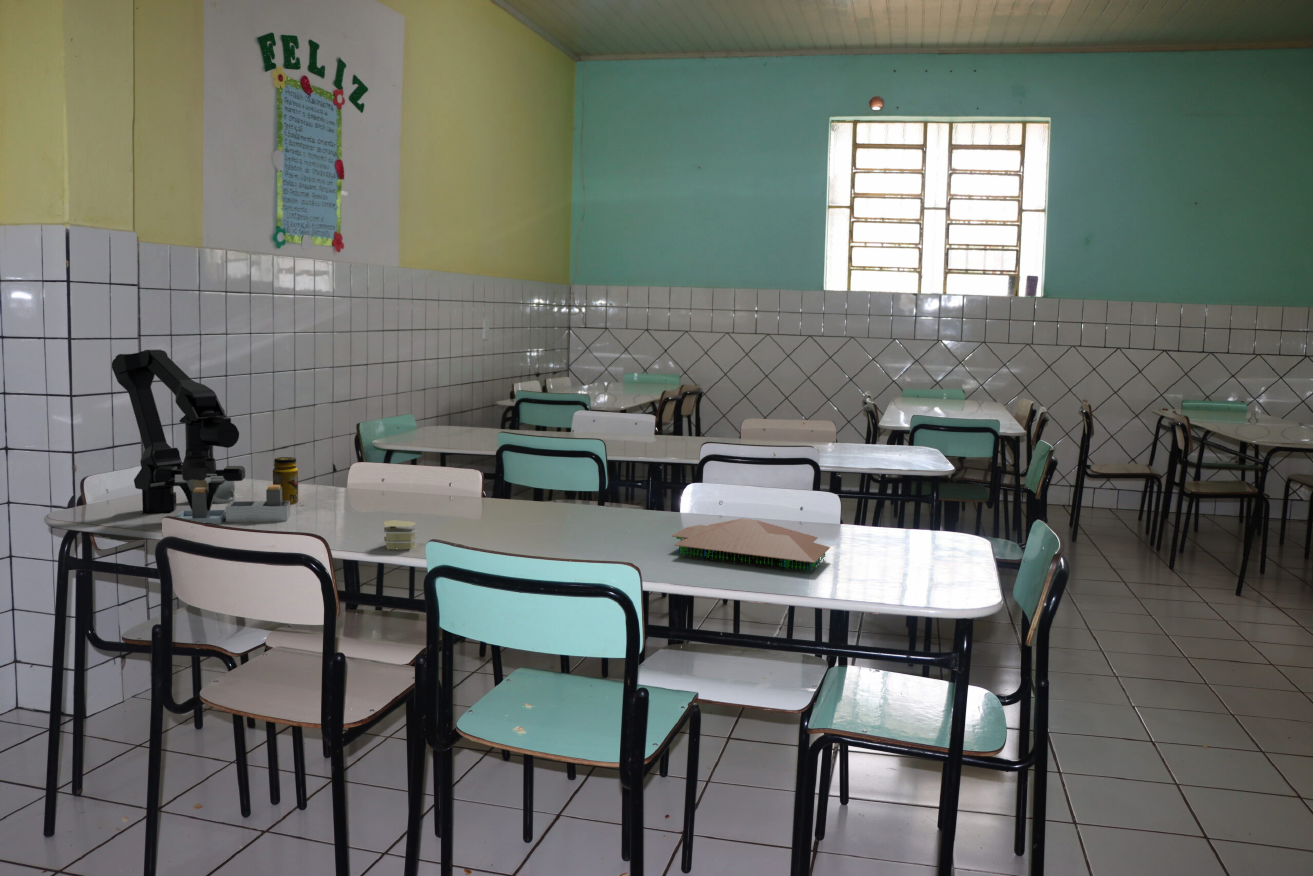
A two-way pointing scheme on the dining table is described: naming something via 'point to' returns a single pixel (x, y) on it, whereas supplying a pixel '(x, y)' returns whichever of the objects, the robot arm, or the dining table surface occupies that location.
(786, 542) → the house
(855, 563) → the dining table surface
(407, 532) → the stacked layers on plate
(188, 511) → the tray
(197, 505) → the plug
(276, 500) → the twin plug
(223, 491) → the ceramic mug
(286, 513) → the grey socket block
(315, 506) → the dining table surface
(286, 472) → the condiment
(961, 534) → the dining table surface
